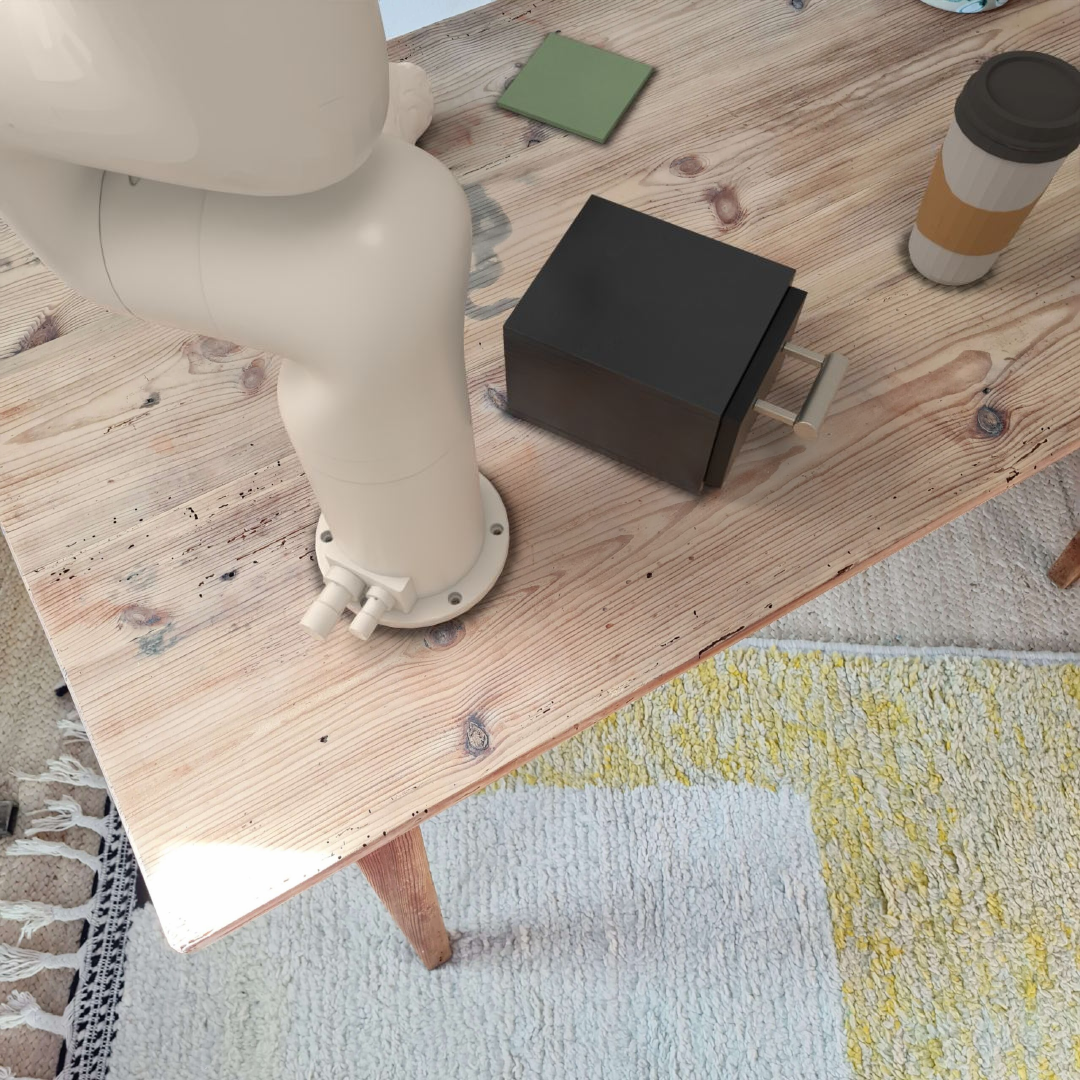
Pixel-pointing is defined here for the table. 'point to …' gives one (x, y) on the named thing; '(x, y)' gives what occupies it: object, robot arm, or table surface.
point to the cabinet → (639, 339)
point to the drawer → (761, 380)
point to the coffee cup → (995, 162)
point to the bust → (408, 102)
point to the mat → (576, 87)
